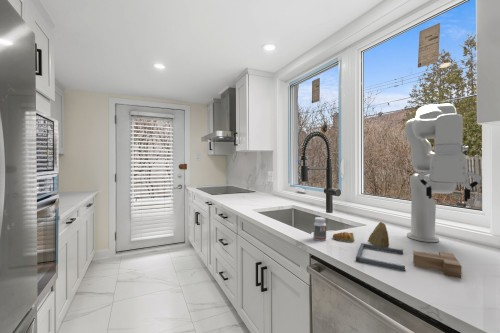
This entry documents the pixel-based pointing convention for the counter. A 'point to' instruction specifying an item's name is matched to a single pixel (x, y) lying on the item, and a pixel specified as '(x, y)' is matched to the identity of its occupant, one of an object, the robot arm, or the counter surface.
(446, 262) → the t block
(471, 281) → the counter surface
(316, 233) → the pill bottle
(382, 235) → the rock
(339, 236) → the pastry
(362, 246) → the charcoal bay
